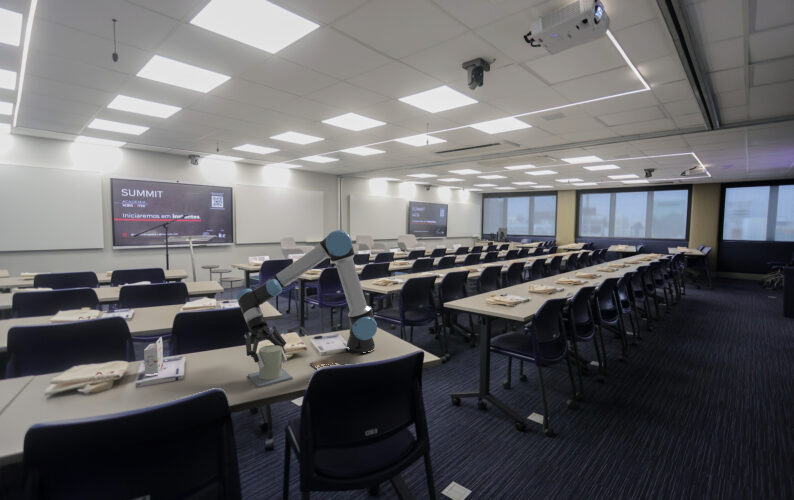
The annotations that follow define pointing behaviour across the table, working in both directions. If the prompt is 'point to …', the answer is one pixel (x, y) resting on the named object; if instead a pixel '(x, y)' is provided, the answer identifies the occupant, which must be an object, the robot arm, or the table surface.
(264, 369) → the can
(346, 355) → the table surface
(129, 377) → the table surface
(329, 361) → the walnut coaster
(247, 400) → the table surface
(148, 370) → the ink cartridge box
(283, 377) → the grey mat
